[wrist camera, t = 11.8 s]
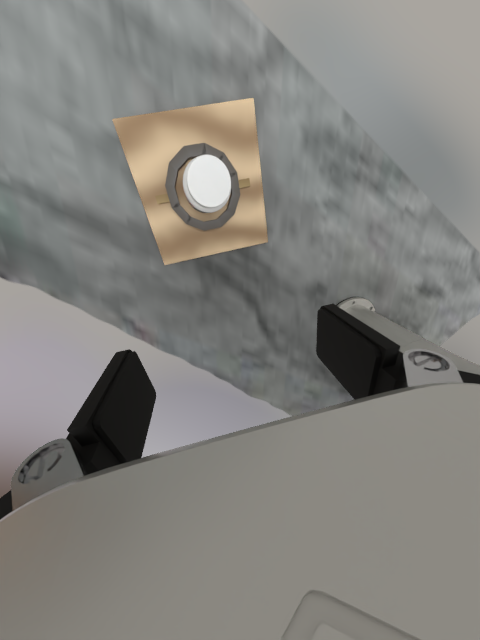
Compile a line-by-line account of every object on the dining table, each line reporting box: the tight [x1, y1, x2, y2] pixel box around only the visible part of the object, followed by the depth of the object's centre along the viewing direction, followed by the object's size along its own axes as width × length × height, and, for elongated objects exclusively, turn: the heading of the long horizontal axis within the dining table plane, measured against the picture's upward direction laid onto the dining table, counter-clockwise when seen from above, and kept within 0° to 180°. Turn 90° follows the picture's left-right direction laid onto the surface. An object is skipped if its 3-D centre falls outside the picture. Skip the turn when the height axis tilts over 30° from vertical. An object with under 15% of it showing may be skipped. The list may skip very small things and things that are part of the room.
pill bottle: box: [183, 155, 231, 213], centre depth 25 cm, size 6×6×10 cm
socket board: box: [112, 98, 268, 265], centre depth 29 cm, size 18×18×2 cm
